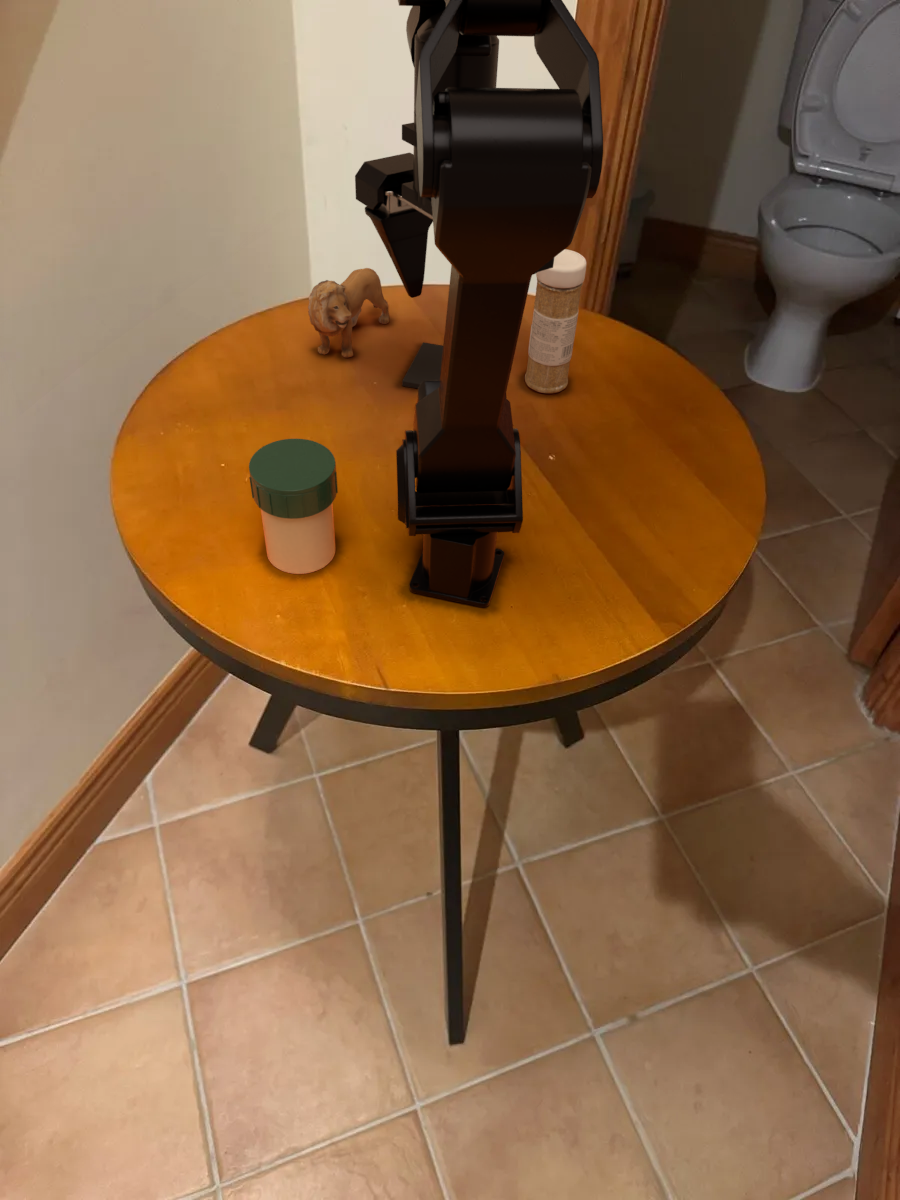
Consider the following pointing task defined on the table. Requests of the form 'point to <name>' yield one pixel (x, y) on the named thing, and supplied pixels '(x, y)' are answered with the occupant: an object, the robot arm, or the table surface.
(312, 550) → the jar
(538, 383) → the spice bottle
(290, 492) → the lid
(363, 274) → the lion figurine
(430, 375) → the coaster
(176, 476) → the table surface
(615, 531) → the table surface
